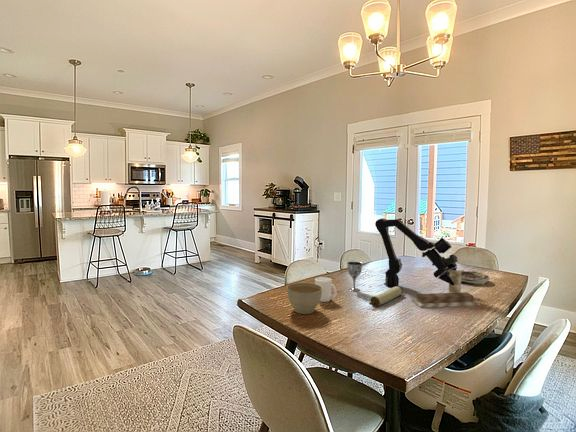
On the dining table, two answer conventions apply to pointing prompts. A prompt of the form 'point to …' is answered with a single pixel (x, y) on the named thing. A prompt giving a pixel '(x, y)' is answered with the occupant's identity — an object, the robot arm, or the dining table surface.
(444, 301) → the ridge stand
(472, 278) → the pie
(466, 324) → the dining table surface
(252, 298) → the dining table surface
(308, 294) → the planter bowl
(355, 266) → the wine glass
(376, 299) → the rolling pin
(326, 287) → the mug
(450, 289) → the ash post
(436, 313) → the dining table surface
